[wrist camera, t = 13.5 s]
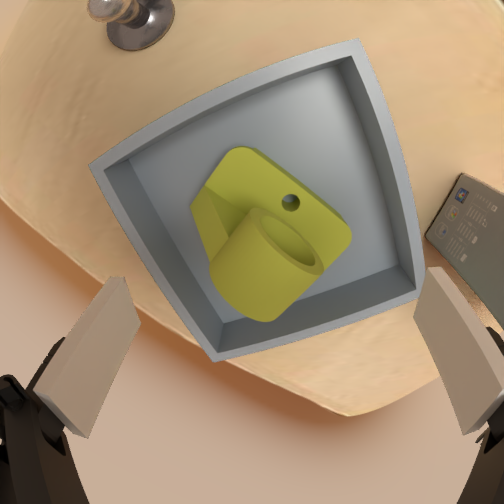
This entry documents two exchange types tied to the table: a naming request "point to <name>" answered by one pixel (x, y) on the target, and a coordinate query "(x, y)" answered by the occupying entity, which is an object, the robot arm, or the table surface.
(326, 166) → the bin
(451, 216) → the hard drive box
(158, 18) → the ball stud
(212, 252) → the bracket
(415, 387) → the table surface
